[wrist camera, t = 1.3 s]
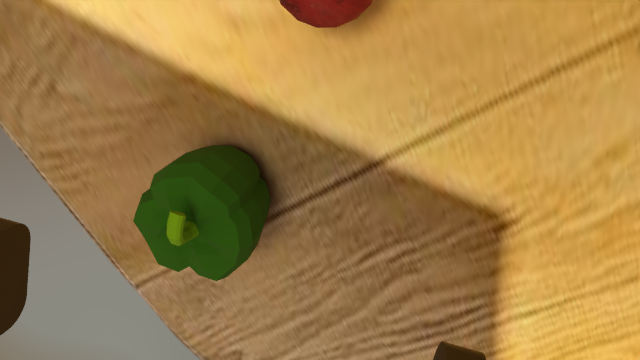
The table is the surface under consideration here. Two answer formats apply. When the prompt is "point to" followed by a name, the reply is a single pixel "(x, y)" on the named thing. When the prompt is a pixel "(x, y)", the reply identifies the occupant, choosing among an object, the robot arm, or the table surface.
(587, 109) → the table surface
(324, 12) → the onion
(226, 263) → the bell pepper
